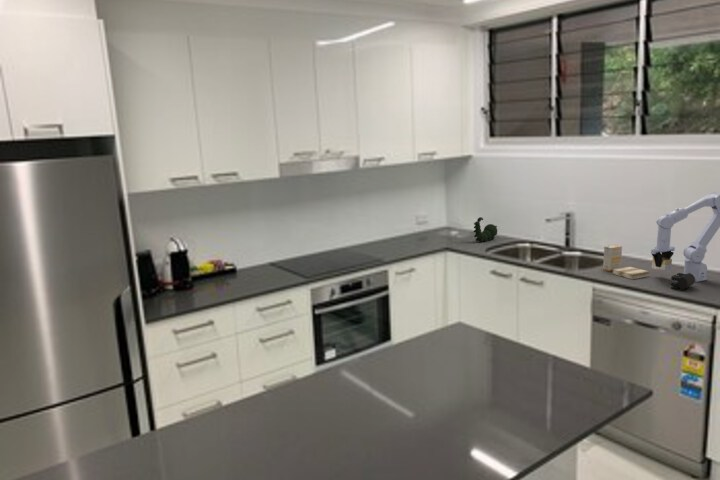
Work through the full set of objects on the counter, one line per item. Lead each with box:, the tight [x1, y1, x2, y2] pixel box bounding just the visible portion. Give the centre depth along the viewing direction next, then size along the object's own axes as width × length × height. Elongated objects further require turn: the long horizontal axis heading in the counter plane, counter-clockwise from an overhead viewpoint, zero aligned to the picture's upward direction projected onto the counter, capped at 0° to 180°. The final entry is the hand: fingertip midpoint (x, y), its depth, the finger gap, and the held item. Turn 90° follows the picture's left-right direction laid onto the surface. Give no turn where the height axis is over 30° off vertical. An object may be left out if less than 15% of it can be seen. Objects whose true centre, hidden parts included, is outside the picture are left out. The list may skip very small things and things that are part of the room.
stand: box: [612, 266, 650, 280], centre depth 278 cm, size 12×12×2 cm
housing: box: [651, 257, 673, 272], centre depth 270 cm, size 8×5×6 cm, turn 23°
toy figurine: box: [473, 217, 498, 243], centre depth 375 cm, size 9×19×25 cm
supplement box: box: [602, 244, 623, 272], centre depth 289 cm, size 8×5×13 cm, turn 111°
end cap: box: [670, 272, 696, 291], centre depth 253 cm, size 10×7×7 cm
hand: (661, 266), depth 271 cm, fingers closed on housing, 5 cm apart
